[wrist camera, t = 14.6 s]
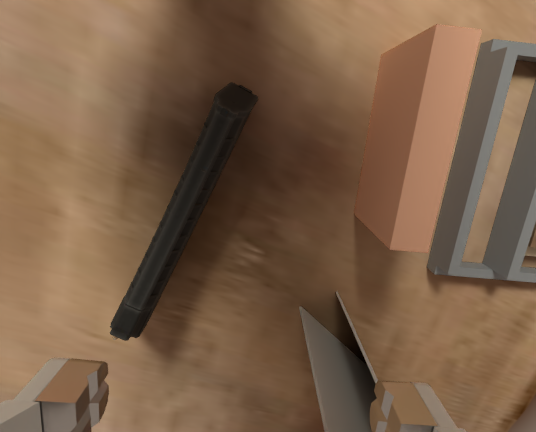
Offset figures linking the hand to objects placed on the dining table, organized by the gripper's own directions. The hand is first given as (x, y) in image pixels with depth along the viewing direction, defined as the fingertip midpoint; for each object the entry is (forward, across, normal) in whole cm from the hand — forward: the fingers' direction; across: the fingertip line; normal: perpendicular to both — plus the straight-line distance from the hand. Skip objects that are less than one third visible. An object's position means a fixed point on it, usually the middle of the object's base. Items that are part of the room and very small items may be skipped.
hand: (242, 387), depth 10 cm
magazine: (+32, +8, +3) cm, 33 cm away
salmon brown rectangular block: (+31, -14, -7) cm, 35 cm away
